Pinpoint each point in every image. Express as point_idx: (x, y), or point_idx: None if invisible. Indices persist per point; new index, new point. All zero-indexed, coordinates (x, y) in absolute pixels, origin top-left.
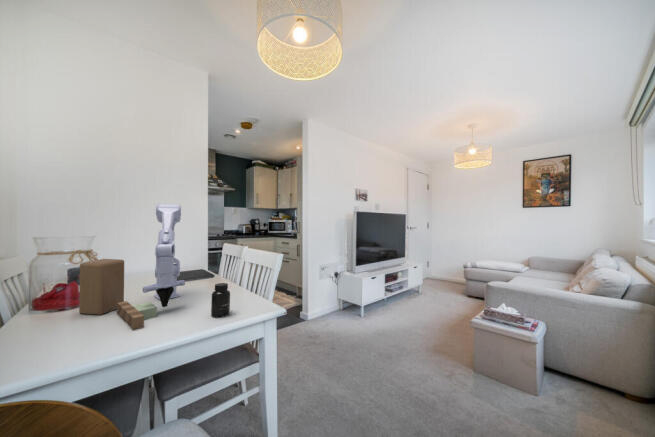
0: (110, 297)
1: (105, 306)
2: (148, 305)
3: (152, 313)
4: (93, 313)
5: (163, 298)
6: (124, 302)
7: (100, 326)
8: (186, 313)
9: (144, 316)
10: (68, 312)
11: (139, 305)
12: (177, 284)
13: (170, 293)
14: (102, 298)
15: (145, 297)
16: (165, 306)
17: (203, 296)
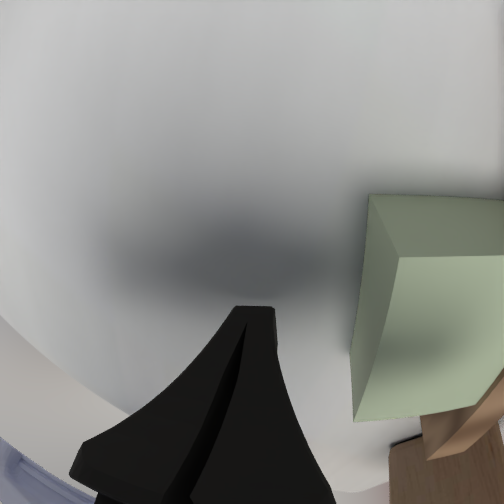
0: (464, 481)
1: (482, 440)
2: (422, 362)
3: (425, 215)
4: None
5: (267, 394)
6: (448, 450)
7: None
8: (103, 77)
9: (485, 211)
10: None
11: (451, 394)
12: (49, 494)
13: (142, 430)
14: (501, 472)
15: None
16: (252, 307)
17: (42, 342)
